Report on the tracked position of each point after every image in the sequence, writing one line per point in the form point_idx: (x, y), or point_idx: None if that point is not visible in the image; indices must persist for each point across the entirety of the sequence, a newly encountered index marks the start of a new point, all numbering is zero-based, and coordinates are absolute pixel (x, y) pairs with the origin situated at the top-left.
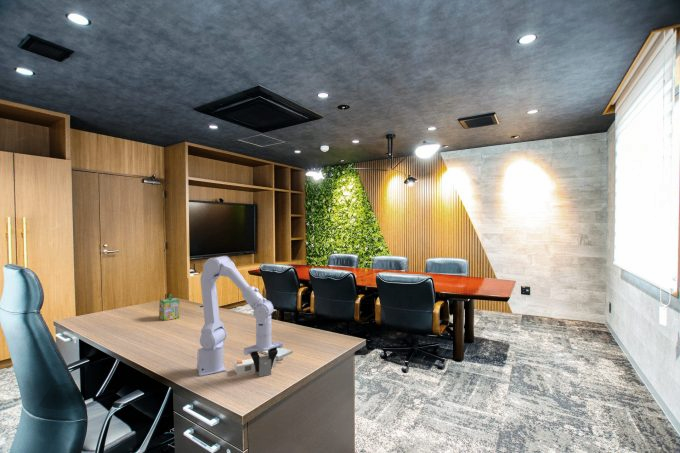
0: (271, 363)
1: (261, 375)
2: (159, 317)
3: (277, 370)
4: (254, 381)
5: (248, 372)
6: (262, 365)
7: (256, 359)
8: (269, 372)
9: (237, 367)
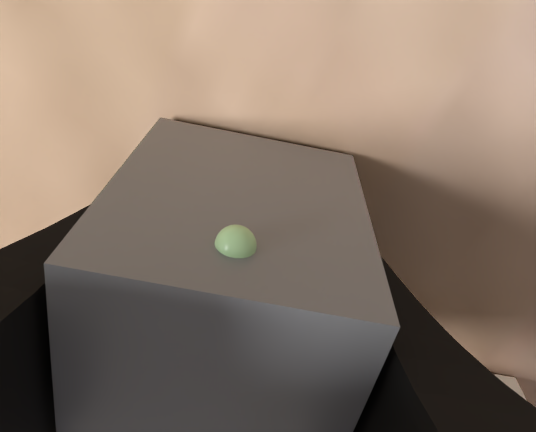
0: None
1: (324, 154)
2: None
3: (24, 183)
4: (498, 74)
5: None
6: (313, 242)
7: (509, 428)
8: (182, 134)
9: None
